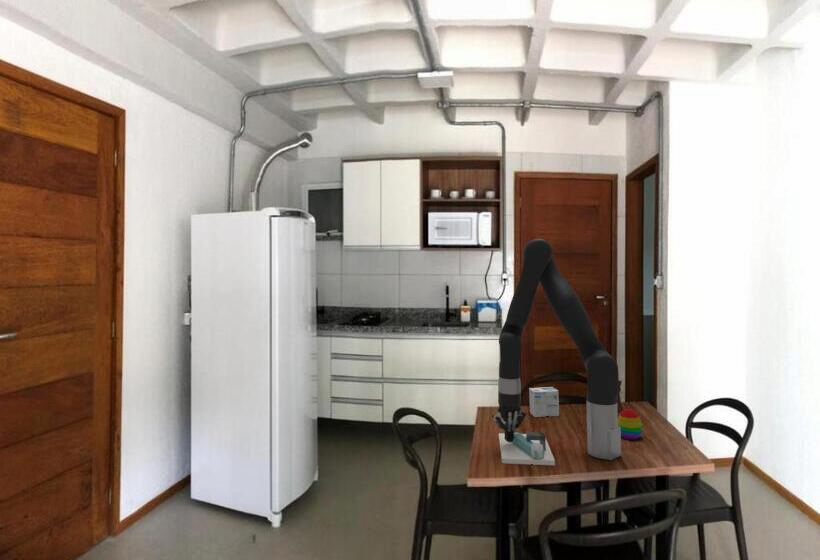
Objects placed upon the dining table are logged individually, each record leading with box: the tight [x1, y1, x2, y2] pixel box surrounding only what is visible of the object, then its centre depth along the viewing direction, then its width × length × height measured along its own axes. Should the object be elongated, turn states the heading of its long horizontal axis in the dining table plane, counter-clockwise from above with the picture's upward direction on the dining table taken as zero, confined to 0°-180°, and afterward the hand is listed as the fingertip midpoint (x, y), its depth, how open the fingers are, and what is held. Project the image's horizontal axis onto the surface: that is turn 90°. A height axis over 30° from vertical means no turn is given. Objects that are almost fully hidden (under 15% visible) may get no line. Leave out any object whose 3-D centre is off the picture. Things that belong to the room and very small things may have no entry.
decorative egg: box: [618, 408, 643, 441], centre depth 156 cm, size 8×8×10 cm
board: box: [498, 432, 556, 466], centre depth 147 cm, size 22×16×2 cm
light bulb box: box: [528, 386, 560, 418], centre depth 183 cm, size 11×7×11 cm, turn 94°
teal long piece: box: [513, 432, 544, 459], centre depth 144 cm, size 16×4×4 cm, turn 15°
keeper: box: [525, 431, 547, 451], centre depth 144 cm, size 3×6×5 cm, turn 81°
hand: (509, 441), depth 148 cm, fingers closed
